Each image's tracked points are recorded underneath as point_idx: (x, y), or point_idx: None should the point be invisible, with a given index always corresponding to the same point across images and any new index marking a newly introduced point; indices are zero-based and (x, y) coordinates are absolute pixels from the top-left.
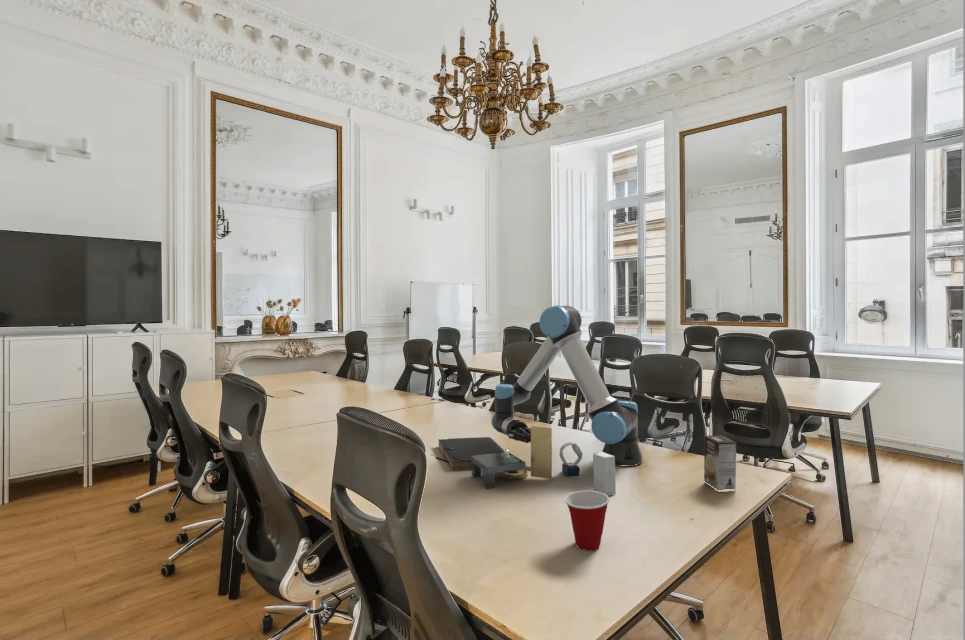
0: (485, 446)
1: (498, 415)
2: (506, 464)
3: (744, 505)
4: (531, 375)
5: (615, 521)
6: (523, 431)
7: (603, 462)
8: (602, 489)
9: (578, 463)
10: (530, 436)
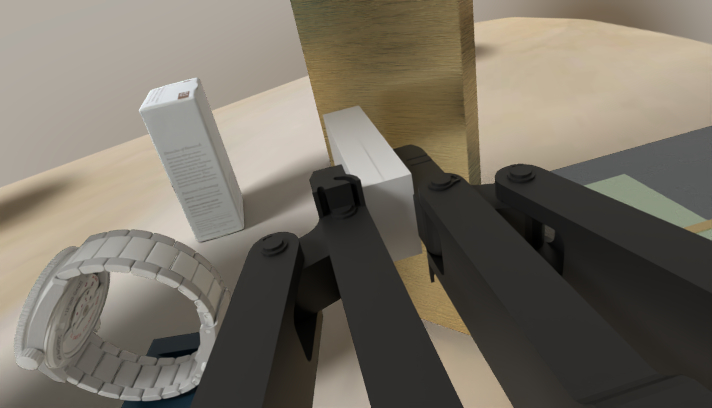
0: None
1: None
2: (647, 147)
3: (3, 189)
4: None
5: (311, 122)
6: (653, 379)
7: (205, 97)
8: (238, 189)
9: (128, 355)
10: (470, 193)
